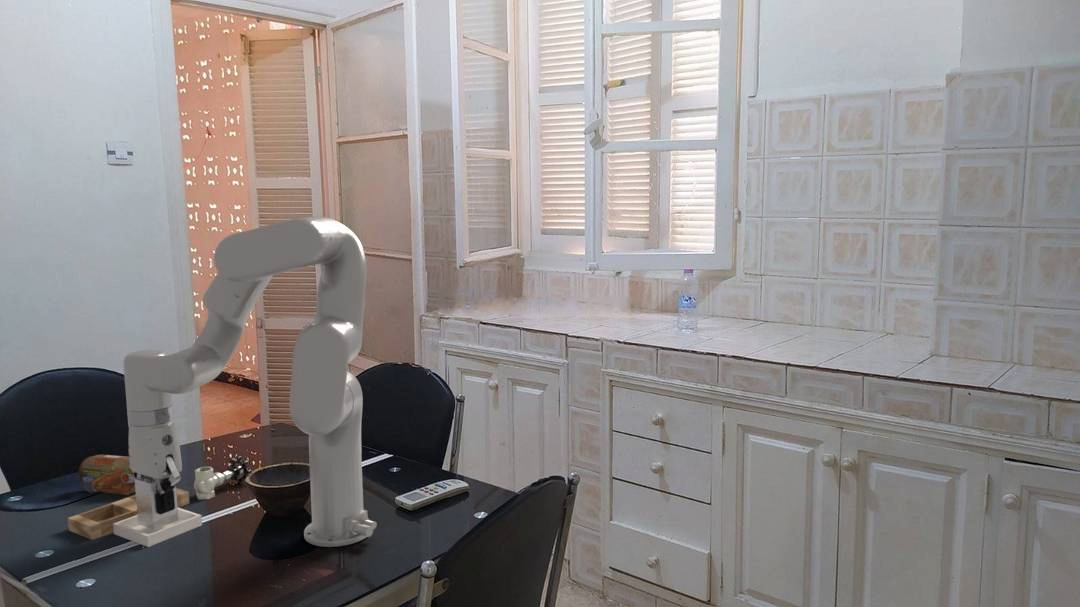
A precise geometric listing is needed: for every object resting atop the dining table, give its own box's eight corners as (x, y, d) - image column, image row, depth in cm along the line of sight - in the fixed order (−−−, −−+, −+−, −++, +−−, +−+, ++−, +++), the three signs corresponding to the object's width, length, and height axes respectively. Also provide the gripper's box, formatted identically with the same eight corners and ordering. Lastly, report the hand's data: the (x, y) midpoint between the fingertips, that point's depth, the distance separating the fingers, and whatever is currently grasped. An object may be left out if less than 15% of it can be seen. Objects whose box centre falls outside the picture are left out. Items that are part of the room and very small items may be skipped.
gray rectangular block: (178, 520, 146) (175, 475, 145) (153, 529, 141) (150, 483, 140) (162, 515, 148) (159, 470, 147) (138, 524, 144) (134, 478, 143)
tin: (78, 492, 165) (75, 455, 164) (90, 487, 168) (87, 451, 167) (136, 498, 162) (133, 460, 161) (147, 493, 165) (144, 456, 164)
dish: (202, 527, 147) (201, 515, 147) (148, 549, 138) (147, 536, 137) (168, 515, 153) (167, 503, 152) (113, 536, 143) (112, 523, 143)
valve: (209, 504, 158) (252, 485, 169) (207, 474, 158) (251, 457, 168) (186, 499, 161) (231, 481, 172) (184, 470, 160) (229, 453, 171)
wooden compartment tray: (189, 505, 158) (188, 491, 157) (92, 542, 141) (90, 526, 140) (166, 498, 162) (165, 484, 161) (69, 532, 145) (67, 517, 144)
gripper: (196, 417, 141) (202, 510, 143) (142, 405, 150) (149, 493, 152) (158, 427, 135) (166, 525, 137) (104, 415, 143) (112, 506, 146)
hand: (157, 507), depth 145 cm, fingers closed on gray rectangular block, 4 cm apart
